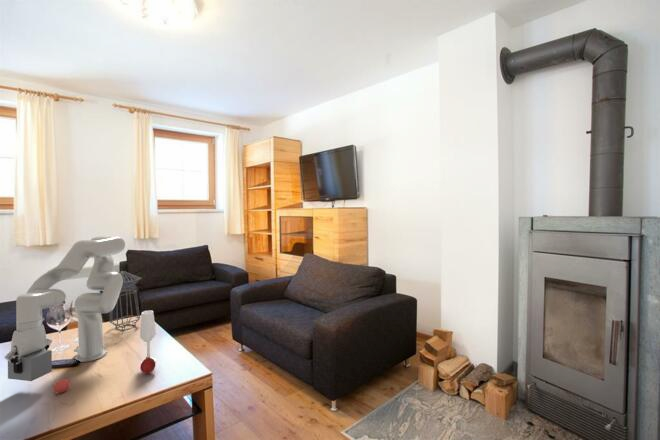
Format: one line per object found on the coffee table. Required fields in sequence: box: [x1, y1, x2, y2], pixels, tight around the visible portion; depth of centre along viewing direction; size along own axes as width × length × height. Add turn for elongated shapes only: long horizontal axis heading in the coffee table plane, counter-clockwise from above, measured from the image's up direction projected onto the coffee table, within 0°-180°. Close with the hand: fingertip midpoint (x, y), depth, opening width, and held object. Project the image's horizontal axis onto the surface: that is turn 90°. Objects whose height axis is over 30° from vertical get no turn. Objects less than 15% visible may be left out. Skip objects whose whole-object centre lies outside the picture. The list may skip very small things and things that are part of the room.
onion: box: [139, 356, 156, 375], centre depth 140 cm, size 6×6×8 cm
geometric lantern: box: [109, 270, 143, 332], centre depth 194 cm, size 16×16×35 cm
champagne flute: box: [139, 310, 158, 364], centre depth 151 cm, size 7×7×24 cm
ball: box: [52, 378, 71, 394], centre depth 126 cm, size 5×5×5 cm
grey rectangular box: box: [7, 349, 53, 382], centre depth 128 cm, size 11×8×9 cm
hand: (30, 367), depth 128 cm, fingers closed on grey rectangular box, 7 cm apart
